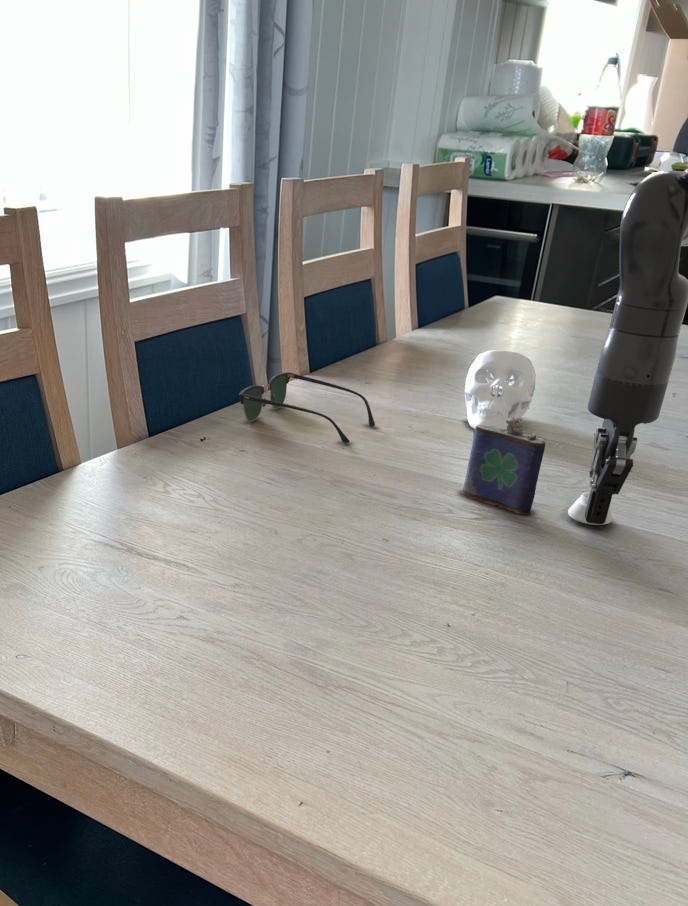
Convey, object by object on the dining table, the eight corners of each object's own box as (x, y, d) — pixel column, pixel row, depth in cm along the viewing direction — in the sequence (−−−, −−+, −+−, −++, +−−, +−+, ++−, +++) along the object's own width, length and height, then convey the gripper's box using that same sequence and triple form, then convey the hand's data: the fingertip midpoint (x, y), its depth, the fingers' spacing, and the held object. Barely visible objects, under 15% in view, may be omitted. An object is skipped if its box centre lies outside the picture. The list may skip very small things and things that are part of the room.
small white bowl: (613, 530, 116) (606, 514, 120) (620, 506, 114) (613, 492, 118) (570, 524, 116) (565, 509, 121) (576, 501, 115) (570, 487, 119)
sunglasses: (340, 449, 136) (344, 414, 134) (234, 425, 143) (236, 391, 140) (382, 422, 149) (387, 389, 146) (283, 401, 156) (286, 370, 153)
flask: (458, 493, 123) (475, 410, 118) (470, 488, 125) (487, 406, 120) (524, 516, 118) (545, 430, 113) (536, 510, 120) (556, 425, 114)
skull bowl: (453, 422, 146) (470, 343, 146) (454, 448, 159) (470, 375, 160) (525, 432, 143) (542, 351, 143) (520, 458, 156) (536, 384, 157)
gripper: (680, 391, 100) (636, 546, 108) (658, 364, 111) (619, 506, 120) (604, 383, 101) (566, 537, 110) (590, 357, 113) (556, 498, 121)
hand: (594, 521), depth 115 cm, fingers closed
